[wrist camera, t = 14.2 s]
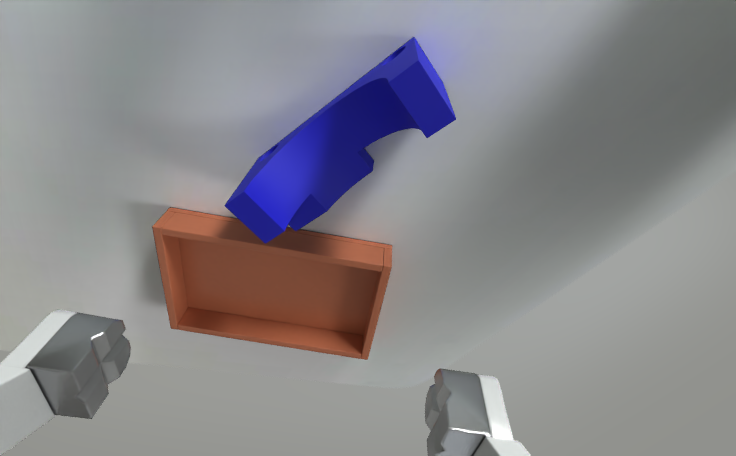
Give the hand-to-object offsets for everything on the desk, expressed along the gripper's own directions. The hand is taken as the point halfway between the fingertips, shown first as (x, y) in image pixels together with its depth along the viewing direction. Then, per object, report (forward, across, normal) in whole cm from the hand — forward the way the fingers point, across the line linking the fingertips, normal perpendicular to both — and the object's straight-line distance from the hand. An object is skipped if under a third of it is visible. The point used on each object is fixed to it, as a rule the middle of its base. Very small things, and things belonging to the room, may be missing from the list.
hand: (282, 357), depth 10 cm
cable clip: (+17, 0, 0) cm, 17 cm away
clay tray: (+17, +4, +13) cm, 22 cm away
